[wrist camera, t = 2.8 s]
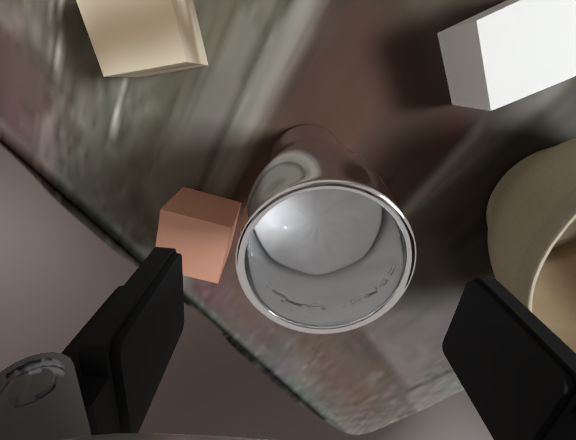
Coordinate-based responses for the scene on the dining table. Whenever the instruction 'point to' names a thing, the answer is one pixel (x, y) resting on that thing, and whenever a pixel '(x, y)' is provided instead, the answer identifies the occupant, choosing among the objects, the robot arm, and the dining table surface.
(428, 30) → the dining table surface
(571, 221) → the planter bowl
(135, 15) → the beech block
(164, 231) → the rust block
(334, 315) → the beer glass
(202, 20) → the dining table surface
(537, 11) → the cream block
